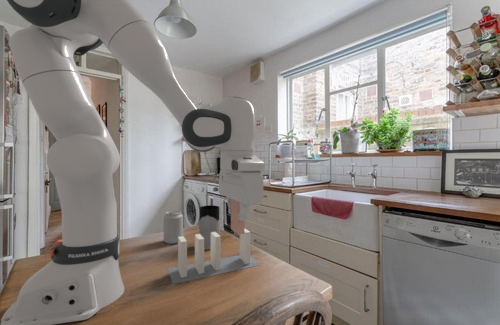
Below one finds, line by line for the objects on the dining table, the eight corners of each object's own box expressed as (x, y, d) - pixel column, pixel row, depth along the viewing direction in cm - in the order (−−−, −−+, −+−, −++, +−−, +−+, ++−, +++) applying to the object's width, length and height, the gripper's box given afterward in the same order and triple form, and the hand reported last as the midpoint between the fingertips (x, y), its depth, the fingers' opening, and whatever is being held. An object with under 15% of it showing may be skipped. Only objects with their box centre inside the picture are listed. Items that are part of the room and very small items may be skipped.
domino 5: (245, 264, 77) (245, 232, 76) (239, 258, 81) (239, 228, 81) (250, 263, 77) (250, 232, 77) (243, 257, 82) (243, 227, 82)
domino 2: (198, 273, 70) (198, 239, 70) (194, 266, 74) (194, 234, 74) (204, 272, 71) (204, 238, 70) (199, 265, 75) (199, 233, 75)
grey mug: (195, 250, 89) (195, 209, 89) (203, 237, 103) (203, 202, 103) (219, 250, 89) (219, 209, 88) (224, 237, 103) (224, 202, 102)
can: (165, 238, 101) (165, 210, 101) (183, 238, 103) (183, 209, 102) (161, 245, 94) (161, 214, 94) (182, 244, 95) (182, 213, 95)
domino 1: (181, 277, 68) (181, 242, 68) (178, 270, 72) (177, 236, 72) (186, 276, 68) (186, 241, 68) (183, 269, 73) (183, 236, 73)
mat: (172, 285, 64) (172, 284, 64) (167, 269, 73) (167, 268, 73) (261, 265, 76) (261, 264, 76) (247, 254, 85) (247, 253, 85)
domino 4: (238, 234, 59) (238, 193, 59) (230, 229, 64) (231, 191, 64) (244, 233, 60) (244, 193, 60) (236, 228, 64) (236, 190, 64)
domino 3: (215, 270, 72) (215, 237, 72) (210, 263, 77) (210, 232, 76) (220, 269, 73) (220, 236, 73) (215, 262, 77) (215, 231, 77)
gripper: (213, 162, 69) (213, 210, 70) (242, 163, 51) (242, 229, 51) (233, 162, 72) (233, 208, 72) (268, 163, 54) (268, 225, 54)
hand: (237, 217), depth 62 cm, fingers closed on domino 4, 5 cm apart
